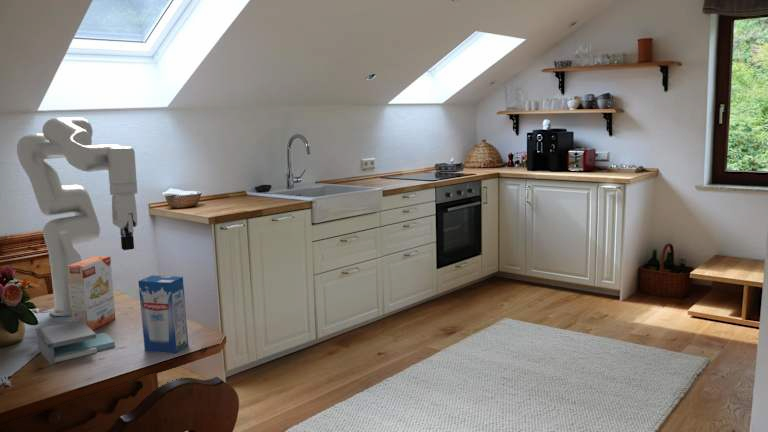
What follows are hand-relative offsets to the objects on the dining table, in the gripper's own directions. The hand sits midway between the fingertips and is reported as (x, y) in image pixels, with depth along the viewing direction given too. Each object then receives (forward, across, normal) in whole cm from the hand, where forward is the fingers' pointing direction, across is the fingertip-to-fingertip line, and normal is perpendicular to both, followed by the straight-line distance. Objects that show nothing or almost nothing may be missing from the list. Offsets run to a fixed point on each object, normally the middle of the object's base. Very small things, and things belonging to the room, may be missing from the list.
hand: (127, 249), depth 197 cm
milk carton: (+24, +24, +2) cm, 34 cm away
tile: (+25, +8, -17) cm, 32 cm away
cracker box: (+26, -10, -9) cm, 29 cm away
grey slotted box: (+25, +8, -20) cm, 33 cm away
